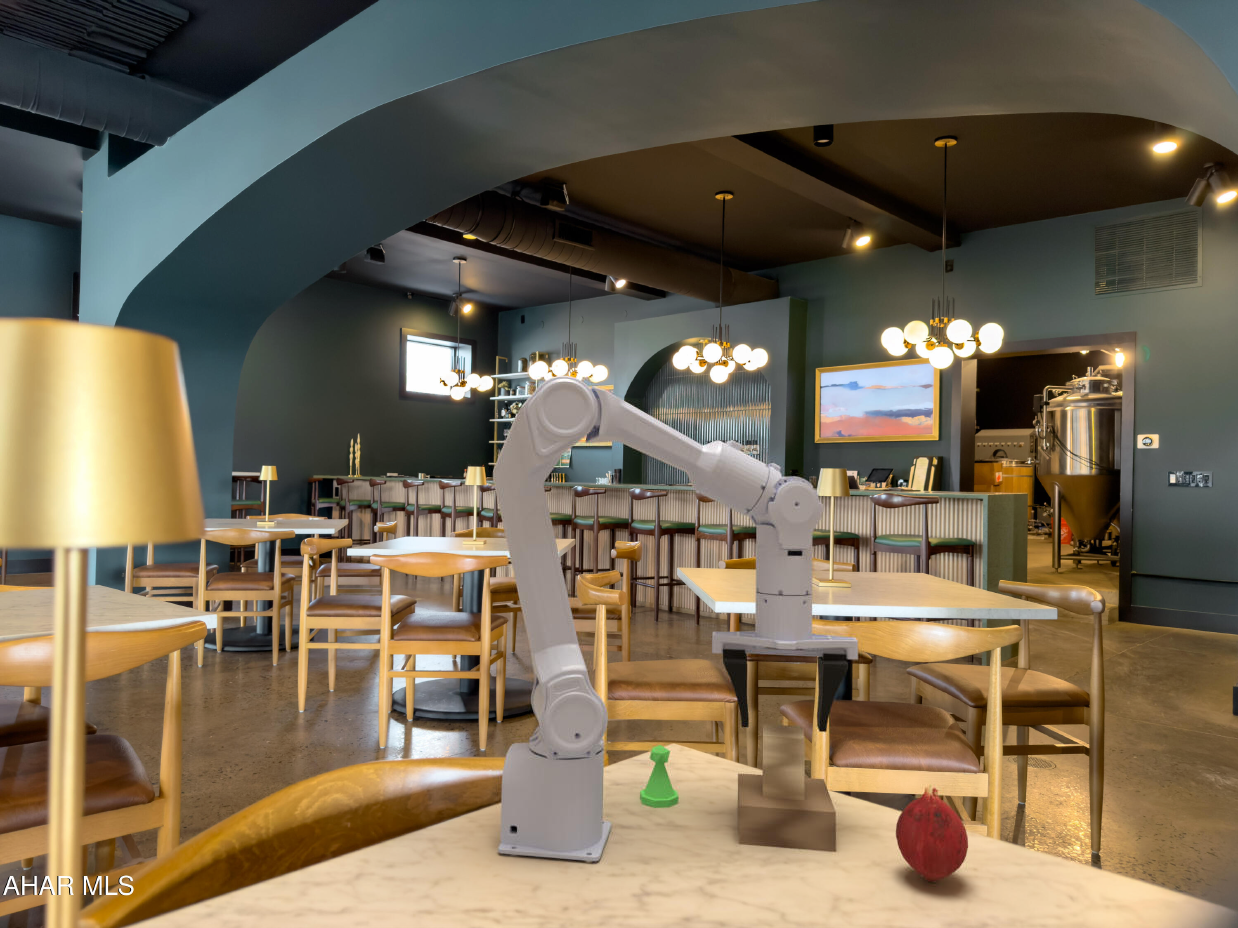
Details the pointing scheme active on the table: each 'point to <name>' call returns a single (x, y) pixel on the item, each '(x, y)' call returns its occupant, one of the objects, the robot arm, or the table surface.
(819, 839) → the walnut block
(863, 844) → the table surface
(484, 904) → the table surface
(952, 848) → the onion
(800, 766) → the maple block
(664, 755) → the game piece
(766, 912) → the table surface
